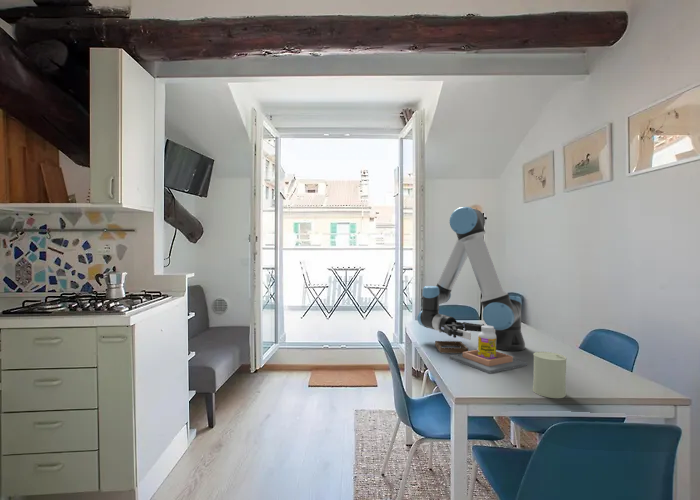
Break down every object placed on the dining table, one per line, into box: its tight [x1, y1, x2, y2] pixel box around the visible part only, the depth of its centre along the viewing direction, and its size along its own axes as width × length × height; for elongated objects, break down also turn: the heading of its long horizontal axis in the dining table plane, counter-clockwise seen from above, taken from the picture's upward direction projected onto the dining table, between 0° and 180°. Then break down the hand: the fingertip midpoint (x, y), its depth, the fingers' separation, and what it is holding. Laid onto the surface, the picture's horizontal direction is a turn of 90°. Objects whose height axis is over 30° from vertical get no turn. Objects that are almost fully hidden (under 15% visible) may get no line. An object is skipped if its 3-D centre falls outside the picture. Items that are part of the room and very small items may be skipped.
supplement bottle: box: [477, 324, 497, 360], centre depth 150 cm, size 7×7×13 cm
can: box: [532, 351, 567, 399], centre depth 120 cm, size 9×9×12 cm
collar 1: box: [434, 340, 469, 354], centre depth 168 cm, size 12×12×2 cm
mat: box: [449, 353, 527, 374], centre depth 150 cm, size 20×20×1 cm
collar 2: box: [462, 349, 514, 366], centre depth 150 cm, size 13×13×2 cm
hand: (482, 334), depth 152 cm, fingers open, 13 cm apart
